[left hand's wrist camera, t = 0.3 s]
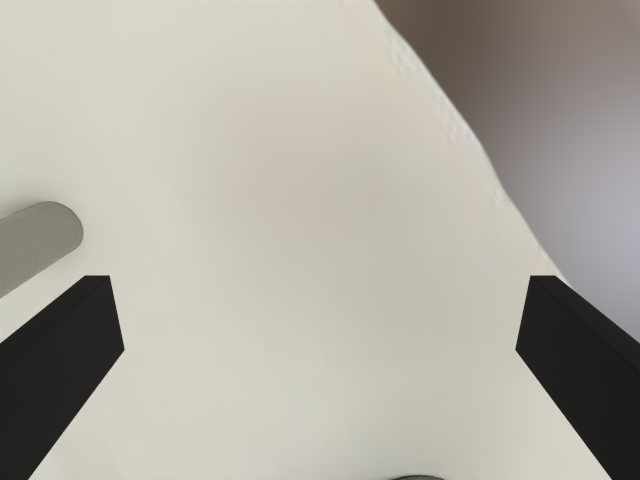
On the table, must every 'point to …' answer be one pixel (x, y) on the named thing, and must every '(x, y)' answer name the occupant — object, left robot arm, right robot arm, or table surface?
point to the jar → (35, 242)
